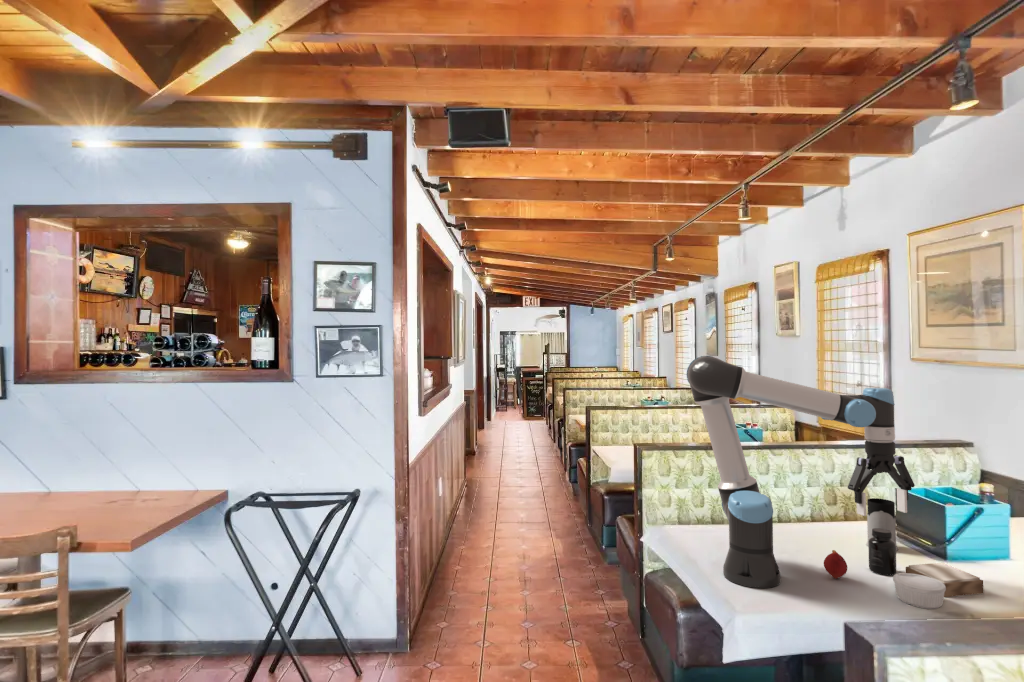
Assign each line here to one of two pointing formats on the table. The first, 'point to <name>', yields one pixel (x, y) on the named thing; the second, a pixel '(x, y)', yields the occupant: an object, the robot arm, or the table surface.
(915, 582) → the ramekin
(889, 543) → the supplement bottle
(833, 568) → the onion
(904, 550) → the table surface
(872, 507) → the glass holder
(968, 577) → the plinth
